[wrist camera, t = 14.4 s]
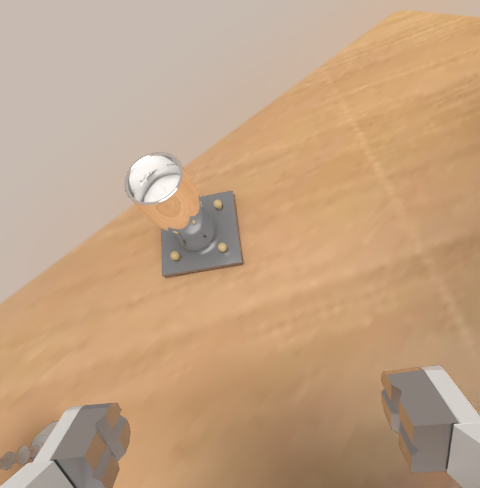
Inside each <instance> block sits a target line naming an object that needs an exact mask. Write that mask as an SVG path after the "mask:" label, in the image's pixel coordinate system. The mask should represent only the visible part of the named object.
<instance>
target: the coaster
mask: <svg viewBox="0 0 480 488" xmlns="http://www.w3.org/2000/svg"><path fill="white" fill-rule="evenodd" d="M200 198H201V202H202V206H203V210H204V213H205V214H206V215H207V216H208V217H209V218H210V219H211V220H212V221H213V223H214V226H215V235H214V238H213V240H212V242H211V243H210V244H209V245H208V246H207V247H205V248H204V249H201V250H198V251H190V250H186V249H184V248H183V247H182V246H181V245H180V244H179V243H178V241H177V239H176V236H175V235H173V234H171V233H169V232H167V231H165V230H164V229H162V228H161V241H162V276H164V277H171V276H177V275H183V274H189V273H195V272H200V271H206V270H212V269H218V268H224V267H230V266H236V265H241V264H243V260H242V253H241V245H240V238H239V231H238V223H237V216H236V208H235V201H234V194H233V191H228V192H223V193H218V194H213V195H208V196H203V197H200Z"/></svg>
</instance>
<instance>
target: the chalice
mask: <svg viewBox="0 0 480 488" xmlns="http://www.w3.org/2000/svg"><path fill="white" fill-rule="evenodd" d="M58 422H59V421H56V422H52V423H50V424H48V425H47V426H46V427H45V428H44V429H43V430H42V431H41V432H40V433H39V434H38V435H37V436H36V437H35V438H34V440H33V442H32V444H31V447H30V448H28V447H26V446H22V447H20V448H19V450H18V451H17V453H12V452H8V453H6V454H5V455H4V456H3V457H2V458H0V469H5V470H8V469H10V468H11V467H12V466H13V464H15V463H18V464H25V463H26V462H27V460H28V459H29V458H30V457H31V459H32V460H33V461H34V459H35V458H36V456H37V454H38V453H39V451H40V450H41V448H42V447H43V445H44V443H45V442H46V440H47V439H48V437H49V436H50V434H51V433H52V431H53V429H54V428H55V426H56V425H57V423H58Z"/></svg>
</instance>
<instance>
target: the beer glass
mask: <svg viewBox="0 0 480 488" xmlns="http://www.w3.org/2000/svg"><path fill="white" fill-rule="evenodd" d="M125 191H126V193H127V195H128V197H129V198H130V199H131V200H132V201H133V202H134V203H135V205H136V206H137V207H138V208H139V210H140V211H141V212H142V213H143V214H144V215H145V216H146V217H147V218H148V219H149V220H150V221H152V222H153V223H154V224H155V225H157V226H158V227H160V228H162V229H164V230H165V231H167V232H169V233H171V234H173V235H175V236H176V239H177V241H178V243H179V244H180V245H181V246H182V247H183V248H184V249H186V250H190V251H198V250H201V249H204V248H205V247H207V246H208V245H209V244H210V243H211V242H212V240H213V238H214V235H215V226H214V223H213V221H212V220H211V219H210V218H209V217H208V216H207V215H206V214H205V213H204V210H203V206H202V202H201V198H200V195H199V192H198V190H197V188H196V186H195V184H194V182H193V180H192V179H191V177H190V176H189V174H188V173H187V171H186V170H185V169H184V167H183V166H182V165H181V163H180V161H179V160H178V159H177V158H176V157H175V156H173V155H171V154H169V153H164V152H156V153H151V154H148V155H145V156H144V157H142V158H140V159H139V160H137V161H136V162H135V163H134V164H133V165H132V167H131V168H130V169H129V171H128V172H127V175H126V178H125Z"/></svg>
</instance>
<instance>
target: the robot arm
mask: <svg viewBox="0 0 480 488" xmlns="http://www.w3.org/2000/svg"><path fill="white" fill-rule="evenodd" d="M381 382H382V384H383V386H384V388H385V389H384V390H383V391H382V392H381V393H382V403H383V408H384V412H385V415H386V417H387V420H388V422H389V425H390V427H391V429H393V430H394V431H395V432H396V433H398V434H399V447H400V449H401V451H402V454H403V456H404V458H405V460H406V462H407V465H408V467H409V469H410V471H411V473H415V472H438V471H447V474H448V475H449V476H451V477H452V478H453V479H454V480H455V481H456V482H457V483H458V484H459V485H460V486H461V487H462V488H480V415H479V414H478V413H477V411H476V410H475V409H474V407H473V406H472V405H471V404H470V402H469V401H468V400H467V398H466V397H465V396H464V395H463V393H462V392H461V391H460V389H459V388H458V387H457V385H456V384H455V383H454V382H453V380H452V379H451V378H450V376H449V375H448V374H447V372H446V371H445V370H444V369H443V368H442V367H441V366H439V365H436V366H428V367H420V368H418V367H416V368H408V369H400V370H392V371H384V372H382V374H381ZM121 410H122V409H121V408H120V406H119V405H118V403H107V404H95V405H84V406H74V407H70V408H69V409H67V410H66V411H65V412H64V414H63V415H62V417H61V418H60V420H59V422H58V423H57V425H56V426H55V428H54V429H53V431H52V433H51V434H50V436H49V437H48V439H47V440H46V442H45V443H44V445H43V447H42V448H41V450H40V451H39V453H38V454H37V456H36V458H35V459H34V461H33V462H31V463H27V464H26V465H25V466H24V467H22V468H21V469H20V470H19V471H18V472H17V473H15V474H14V475H13V476H12V477H11V478H10V479H9V480H7V481H6V482H5V483H4V484H3V485H2V486H0V488H113V485H114V483H115V480H116V477H117V475H118V472H119V470H120V468H119V463H118V461H119V460H120V458H121V457H122V456H123V455H124V454H125V453H126V451H127V448H128V445H129V442H130V433H131V431H130V425H129V423H128V421H127V419H126V418H124V417H122V416H121V415H120V413H121Z"/></svg>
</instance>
